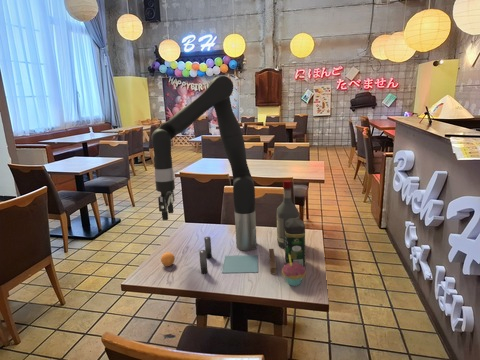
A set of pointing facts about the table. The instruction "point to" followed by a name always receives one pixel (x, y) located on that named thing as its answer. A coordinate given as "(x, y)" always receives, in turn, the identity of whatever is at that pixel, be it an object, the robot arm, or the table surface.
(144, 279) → the table surface
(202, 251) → the post
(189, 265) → the table surface
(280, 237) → the liquor
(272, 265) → the stopper wall
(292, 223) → the coffee jar
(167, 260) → the ball
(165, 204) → the robot arm
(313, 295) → the table surface
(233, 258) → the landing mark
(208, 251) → the post
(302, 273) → the cupcake
